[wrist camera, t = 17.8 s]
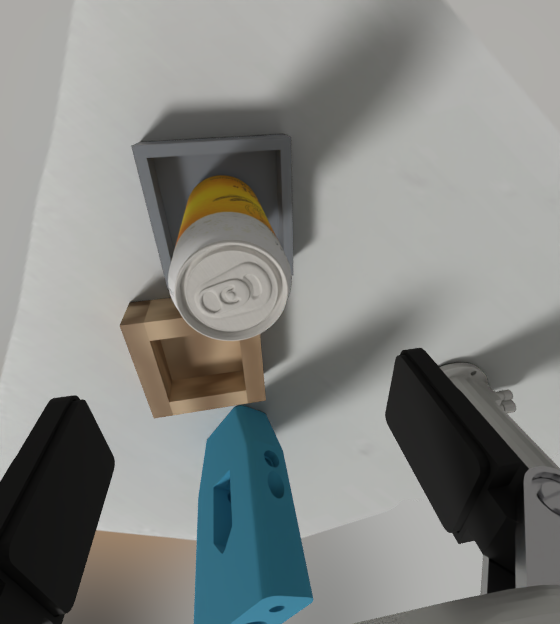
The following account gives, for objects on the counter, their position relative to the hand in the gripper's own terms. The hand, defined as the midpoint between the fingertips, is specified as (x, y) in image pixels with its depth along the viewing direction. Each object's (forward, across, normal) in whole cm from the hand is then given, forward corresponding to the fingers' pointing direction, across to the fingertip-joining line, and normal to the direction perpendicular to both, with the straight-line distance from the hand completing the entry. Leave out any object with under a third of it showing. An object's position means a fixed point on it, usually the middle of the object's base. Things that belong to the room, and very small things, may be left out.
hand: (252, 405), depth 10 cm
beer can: (+22, 0, -1) cm, 22 cm away
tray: (+22, +1, -1) cm, 22 cm away
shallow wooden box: (+22, +5, +13) cm, 26 cm away
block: (+23, +3, +28) cm, 36 cm away
